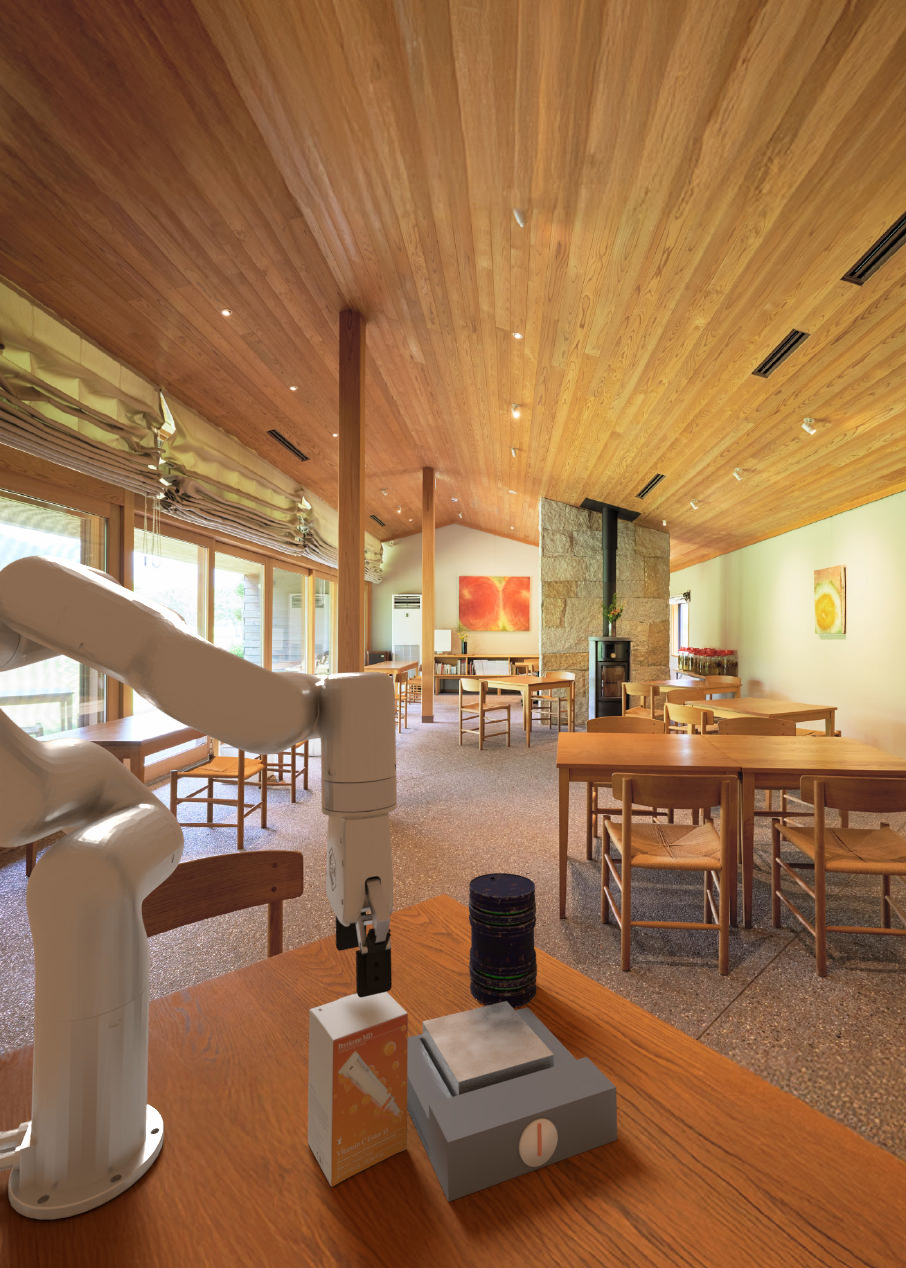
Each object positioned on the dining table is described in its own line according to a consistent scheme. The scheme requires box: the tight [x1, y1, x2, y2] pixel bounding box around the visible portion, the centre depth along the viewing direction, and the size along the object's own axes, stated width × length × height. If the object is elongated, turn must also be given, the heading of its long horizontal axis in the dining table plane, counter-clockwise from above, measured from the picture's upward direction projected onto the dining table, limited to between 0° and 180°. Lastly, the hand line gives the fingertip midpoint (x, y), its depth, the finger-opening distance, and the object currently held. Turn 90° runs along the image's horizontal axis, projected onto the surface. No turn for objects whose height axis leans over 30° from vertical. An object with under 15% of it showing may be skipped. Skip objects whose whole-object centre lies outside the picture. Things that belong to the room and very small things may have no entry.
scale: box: [407, 1007, 618, 1203], centre depth 64 cm, size 18×18×5 cm
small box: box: [307, 992, 409, 1188], centre depth 59 cm, size 8×6×13 cm
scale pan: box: [422, 1001, 554, 1097], centre depth 66 cm, size 11×11×3 cm
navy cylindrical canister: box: [468, 872, 538, 1009], centre depth 87 cm, size 10×10×15 cm
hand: (361, 968), depth 59 cm, fingers open, 9 cm apart
